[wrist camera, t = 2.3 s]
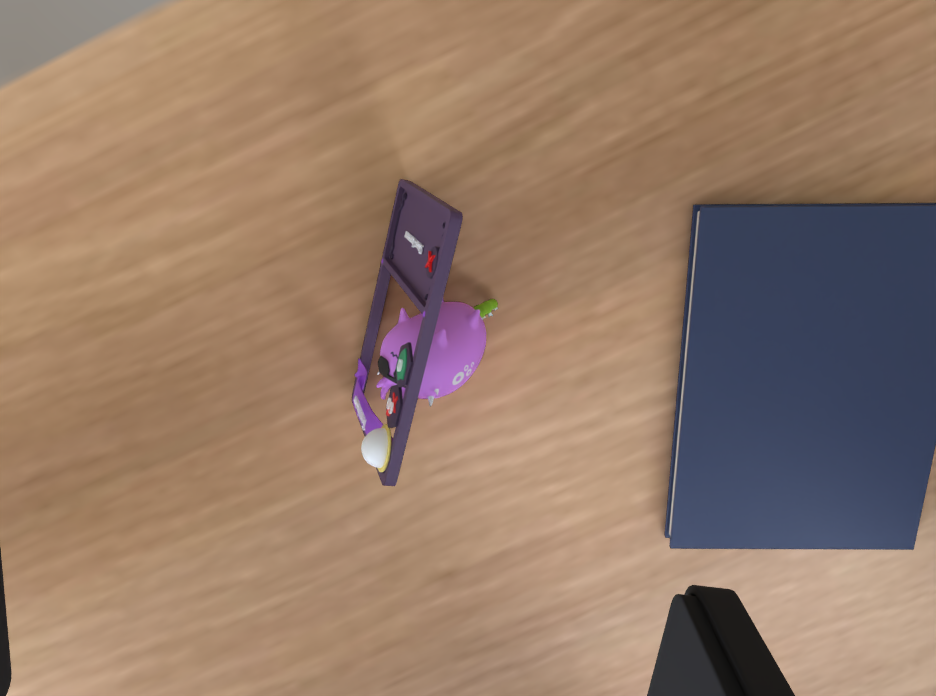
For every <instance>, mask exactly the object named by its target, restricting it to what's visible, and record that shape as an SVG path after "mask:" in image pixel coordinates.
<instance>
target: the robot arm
mask: <svg viewBox="0 0 936 696" xmlns="http://www.w3.org/2000/svg"><path fill="white" fill-rule="evenodd" d="M10 682H11V662H10V651H9V639H8V628H7V617H6V605H5V594H4V583H3V571H2V560H1V549H0V696H6V694H7V692H8V689H9V687H10ZM647 696H795V695H794V693H793V691H792V690H791V688H790V686H789V684H788V683H787V681H786V679H785V677H784V676H783V674H782V672H781V670H780V669H779V667H778V665H777V663H776V662H775V660H774V658H773V656H772V655H771V653H770V651H769V649H768V648H767V646H766V644H765V643H764V641H763V639H762V637H761V636H760V634H759V632H758V630H757V629H756V627H755V625H754V623H753V622H752V620H751V618H750V616H749V615H748V613H747V611H746V609H745V608H744V606H743V604H742V602H741V601H740V599H739V597H738V596H737V594H736V593H735V592H734V591H733V590H730V589H723V588H714V587H706V586H697V585H692V586H689V587H688V589H687V590H686V592H685V595H681V594H677V595H675V596H674V598H673V600H672V603H671V607H670V610H669V614H668V618H667V622H666V626H665V629H664V633H663V637H662V641H661V645H660V649H659V652H658V656H657V660H656V664H655V668H654V671H653V675H652V679H651V683H650V687H649V691H648V694H647Z"/></svg>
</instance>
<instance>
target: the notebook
mask: <svg viewBox="0 0 936 696" xmlns="http://www.w3.org/2000/svg"><path fill="white" fill-rule="evenodd" d="M935 446H936V203H858V204H695V205H693V216H692V227H691V239H690V250H689V261H688V273H687V284H686V296H685V307H684V319H683V330H682V342H681V353H680V365H679V376H678V388H677V399H676V411H675V422H674V433H673V445H672V456H671V468H670V479H669V491H668V502H667V514H666V525H665V537H666V538H670V548H681V549H910V550H913V549H914V545H915V541H916V536H917V531H918V526H919V522H920V517H921V512H922V507H923V503H924V498H925V493H926V488H927V484H928V479H929V474H930V469H931V465H932V460H933V455H934V450H935Z"/></svg>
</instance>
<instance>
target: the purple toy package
mask: <svg viewBox="0 0 936 696" xmlns="http://www.w3.org/2000/svg"><path fill="white" fill-rule="evenodd" d="M462 218H463V216H462V213H461V212H460V211H458V210H456V209H455V208H453V207H452V206H450V205H448V204H447V203H445V202H444V201H442V200H440V199H439V198H437V197H435V196H434V195H432V194H431V193H429V192H427V191H426V190H424V189H423V188H421V187H419V186H418V185H416V184H414V183H413V182H411V181H408V180H403V179H400V181H399V184H398V188H397V193H396V197H395V202H394V206H393V211H392V216H391V220H390V225H389V229H388V234H387V238H386V243H385V247H384V252H383V257H382V261H381V266H380V270H379V275H378V279H377V284H376V288H375V293H374V297H373V302H372V307H371V311H370V316H369V320H368V325H367V329H366V334H365V338H364V343H363V348H362V352H361V357H360V358H359V359H358V370H357V373H355V376H356V379H355V384H354V388H353V393H352V403H353V406H354V408H355V411H356V414H357V417H358V419H359V422H360V425H361V428H362V430H363V433H364V436H365V438H364V439H363V442H362V446H361V451H362V455H363V457H364V459H365V460H366V462H367V463H369V464H370V465H371V466H374V467H376V469H377V471H378V474H379V477H380V480H381V482H382V485H384V486H395V485H396V483H397V479H398V475H399V471H400V467H401V463H402V459H403V455H404V451H405V447H406V443H407V439H408V435H409V431H410V427H411V423H412V419H413V415H414V411H415V407H416V403H417V399H418V398H421V399H428V400H429V405H430V407H431V405H432V403H433V399H434V398H439V397H442V396H445V395H448V394H450V393H452V392H454V391H455V390H457V389H458V388H459V387H461V386H462V385H463V384H464V383H465V382H466V381H467V380H468V379H469V378H470V377H471V375H472V374H473V373H474V371H475V370H476V368H477V366H478V365H479V363H480V361H481V359H482V356H483V353H484V350H485V346H486V329H485V325H484V322H483V319H484V318H486V317H485V315H486V314H488V316H489V317H490V315H491V316H493V315H492V313H491V311H492V310H493V309H494V311H495V310H496V309H498V308H497V305H498V303H497V301H496V300H495V299H490V300H488V301H485V302H483V303H482V304H480V305H476V306H475V307H473V308H472V307H471V306H469V305H468V304H465V303H462V302H444V300H443V296H444V292H445V288H446V284H447V280H448V276H449V272H450V268H451V264H452V260H453V256H454V252H455V248H456V244H457V240H458V236H459V232H460V228H461V224H462ZM391 275H392V276H393V278H394V279H395V280H396V281H397V283H398V284H399V285H400V286H401V288H402V289H403V290H404V292H405V293H406V294H407V295H408V297H409V298H410V299H411V301H412V302H413V303H414V304H415V306H416V307H417V308H418V309H419V311H420V312H421V313H420V314H418V315H416V316H414V317H412V318H409V317H408V315H407V313H406V311H405V309H404V308H401V311H400V317H399V321H398V323H397V325H396V326H395V327H394V328H392V329H391V330H390V331H389V333H388V334H387V335H386V337H385V338H384V340H383V342H382V346H381V350H380V358H379V360H378V367H379V372H378V374H377V375H379V374H380V373H381V374H382V375H383V376H384V377H383V378H382V379H381V380H380V381H379V382H378V383H377V385H376V387H377V388H378V387H382V389H381V398H382V399H385V395H386V393H387V391H388V390H389V389H390V388H391V389H390V394H389V398H388V401H387V406H386V411H387V412H386V415H387V424H388V425H387V424H384V425H383V424H382V423H381V421H380V420H379V419H378V418H377V416H376V415H375V414H374V412H373V411H372V409H371V408H370V406H369V404H368V402H367V400H366V398H365V396H364V391H365V387H366V383H367V378H368V374H369V369H370V365H371V360H372V356H373V351H374V347H375V343H376V338H377V334H378V329H379V325H380V320H381V316H382V312H383V307H384V303H385V298H386V294H387V289H388V285H389V280H390V276H391ZM393 427H396V429H395V433H394V437H393V438H392V436H391V431H390V428H393Z"/></svg>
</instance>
